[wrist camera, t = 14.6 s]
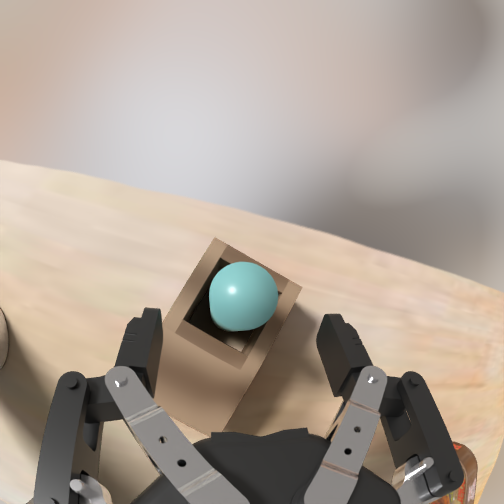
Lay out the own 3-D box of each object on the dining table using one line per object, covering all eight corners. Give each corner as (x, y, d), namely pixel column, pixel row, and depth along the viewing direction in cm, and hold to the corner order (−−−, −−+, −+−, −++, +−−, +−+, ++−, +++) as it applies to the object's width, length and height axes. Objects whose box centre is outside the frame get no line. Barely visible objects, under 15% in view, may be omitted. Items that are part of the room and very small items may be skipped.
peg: (237, 338, 26) (257, 342, 14) (203, 319, 26) (196, 307, 14) (256, 305, 27) (289, 283, 15) (222, 286, 27) (231, 249, 15)
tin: (419, 444, 24) (465, 460, 16) (437, 432, 25) (482, 443, 17) (422, 514, 21) (456, 534, 13) (437, 503, 22) (472, 520, 14)
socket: (215, 421, 23) (216, 440, 18) (140, 379, 23) (125, 388, 19) (286, 295, 27) (302, 287, 23) (213, 254, 28) (214, 237, 23)
